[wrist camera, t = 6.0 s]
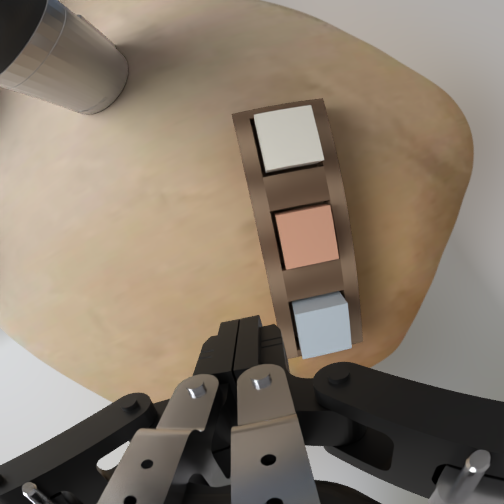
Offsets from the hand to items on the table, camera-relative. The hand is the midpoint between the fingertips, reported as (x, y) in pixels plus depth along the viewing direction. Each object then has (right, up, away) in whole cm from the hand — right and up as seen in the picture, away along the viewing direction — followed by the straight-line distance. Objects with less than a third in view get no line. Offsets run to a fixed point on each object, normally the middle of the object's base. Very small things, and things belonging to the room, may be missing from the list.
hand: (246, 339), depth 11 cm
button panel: (+5, +6, +20) cm, 22 cm away
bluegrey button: (+7, -3, +19) cm, 20 cm away
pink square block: (+5, +5, +18) cm, 20 cm away
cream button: (+3, +14, +15) cm, 21 cm away
